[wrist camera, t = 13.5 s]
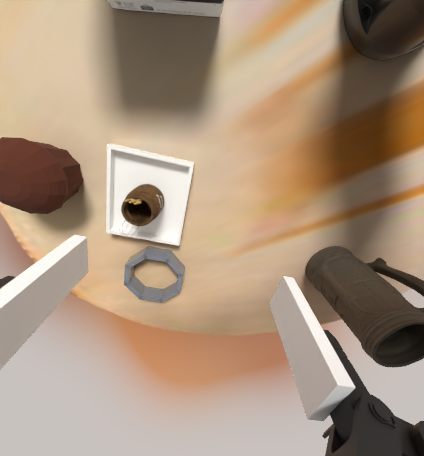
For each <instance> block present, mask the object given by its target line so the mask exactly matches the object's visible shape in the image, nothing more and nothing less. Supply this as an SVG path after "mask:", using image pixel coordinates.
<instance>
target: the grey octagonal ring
mask: <svg viewBox="0 0 424 456" xmlns="http://www.w3.org/2000/svg"><path fill="white" fill-rule="evenodd" d="M144 259H151V260H157V261H163V262H167V263H168V265H169V266H170V267H171V268H172V269H173V270H174V271H175V273H176V274H177V275H178V280H177V282H176V283H174V284H172V285H170V286H169V287H167V288H165V289H157V288H151V287H145V286H144V285H143V284H142V283H141V282H140V281H139V280H138V279H137V278H136V277H135V276H134V265H136V264H137V263H139V262H141V261H143V260H144ZM184 269H185V266H184V265H183V264H182V263H181V262H180V260H179V259H178V258H177V257H176V256H175V254H174V253H173V252H172V251H170V250H165V249H159V248H153V247H146V248H145V249H143V250H142V251H140V252H138V253H137V254H135V255H133V256H132V257H130V259H129V260H128V262H127V263H126V265H125V277H124V285H125V286H126V287H127V288H128V289H129V290H131V291H132V292H133V293H134V294H135V295H136V296H137V297H138V298H139V299H142V300H149V301H156V302H163V301H165V300H167V299H169V298H171V297H173V296H175V295H177V294H179V293H180V289H181V284H182V279H183V275H184Z"/></svg>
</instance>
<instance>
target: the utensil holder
mask: <svg viewBox="0 0 424 456" xmlns="http://www.w3.org/2000/svg"><path fill="white" fill-rule="evenodd" d="M163 206H164V196H163V194H162V192H161V191H160V190H159V189H158V188H157V187H156V186H154V185H151V184H143V185H140V186H138V187H136V188H135V189H133V190H132V191H131V192H130V193H129V194H128V195H127V196H126V198H125V200H124V201H123V203H122V206H121V212H122V215H123V217H124V218H125V220H126V221H127V222H129V223H130V224H132V225H135V226H145V225H147V224H149V223H150V222H152V221H153V220H154V219H156V218H157V216H158V215H159V214H160V212H161V210H162V209H163ZM124 222H125V221H124ZM124 222H123V223H124ZM122 225H123V224H122ZM122 225H121V226H122ZM135 226H134V227H135ZM132 227H133V226H132ZM125 228H126V227H125ZM125 228H124V229H125ZM138 228H139V227H138ZM126 229H127V228H126ZM131 229H132V228H131ZM136 230H138V229H136ZM119 231H120V229H119ZM130 231H131V230H130ZM122 232H123V230H122ZM125 232H126V231H125ZM123 233H124V232H123ZM123 233H121V234H123ZM128 233H130V232H128ZM135 233H136V231H135ZM124 235H126V234H124ZM132 235H134V234H132ZM126 237H128V235H127V236H126Z"/></svg>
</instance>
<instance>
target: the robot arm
mask: <svg viewBox="0 0 424 456" xmlns="http://www.w3.org/2000/svg"><path fill="white" fill-rule="evenodd" d="M344 21H345V26H346V30H347V33H348V36H349V38H350V40H351V42H352V44H353V45H354V46H355V48H356V49H357V50H358V51H359V52H360V53H362V54H363V55H365V56H367V57H369V58H372V59H376V60H387V59H392V58H395V57H398V56H401V55H403V54H405V53H408V52H410V51H412V50H415V49H417V48H418V47H420V46H422V45H423V44H424V0H344ZM87 273H88V249H87V237H84V236H79V235H73V236H72V237H71V238H69V239H68V240H66V241H65V242H64V243H62V244H61V245H60V246H58V247H57V248H55V249H54V250H53V251H51V252H50V253H49V254H47V255H46V256H44V257H43V258H42V259H40V260H39V261H38V262H36V263H35V264H34V265H32V266H31V267H29V268H28V269H27V270H26V271H24V272H23V273H21V274H20V275H19V276H17V277H13V276H7V277H5V278H3V279H0V369H1V368H2V367H3V366H4V365H5V364H6V362H7V361H8V360H9V359H10V358H11V357H12V356H13V355H14V354H15V353H16V352H17V350H18V349H19V348H20V347H21V346H22V345H23V344H24V343H25V341H26V340H27V339H28V338H29V337H30V336H31V335H32V334H33V333H34V332H35V330H36V329H37V328H38V327H39V326H40V325H41V324H42V323H43V322H44V320H45V319H46V318H47V317H48V316H49V315H50V314H51V313H52V312H53V310H54V309H55V308H56V307H57V306H58V305H59V304H60V303H61V302H62V300H63V299H64V298H65V297H66V296H67V295H68V294H69V293H70V292H71V290H72V289H73V288H74V287H75V286H76V285H77V284H78V283H79V282H80V280H81V279H82V278H83V277H84V276H85V275H86V274H87ZM269 305H270V308H271V311H272V314H273V317H274V320H275V323H276V326H277V329H278V332H279V335H280V338H281V341H282V344H283V347H284V350H285V353H286V356H287V359H288V362H289V365H290V368H291V371H292V374H293V377H294V380H295V383H296V386H297V389H298V392H299V395H300V398H301V401H302V404H303V407H304V410H305V413H306V416H307V418H308V419H310V420H318V421H324V420H325V419H326V418H327V417H328V416H329V415H330V416H331V418H332V420H333V425H331V427H329V428H328V429H327V430H326V431H325V432H324V434H323V437H324V438H326V437H327V436H328V435H329V439H328V444H327V450H326V455H325V456H424V421H420V422H419V423H417V424H416V425H415V426H414V425H412V424H410V423H408V422H406V421H404V420H402V419H400V418H398V417H396V416H394V415H393V413H392V412H391V410H390V409H389V408H388V407H387V406H386V405H385V404H384V403H383V402H382V401H381V400H380V399H378V398H376V397H375V396H373V395H370V394H369V392H368V391H367V389H366V387H365V386H364V384H363V382H362V381H361V379H360V378H359V376H358V374H357V372H356V371H355V369H354V368H353V366H352V364H351V363H350V361H349V360H348V359H347V356H346V354H345V353H344V352H343V351H342V350H343V349H342V348H341V346H340V344H339V343H338V341H337V340H336V338H335V337H334V336H333V335H332V334H331V333H330V332H329V331H328V330H323V329H322V327H321V326H320V324H319V322H318V320H317V319H316V317H315V315H314V313H313V311H312V310H311V308H310V306H309V304H308V303H307V301H306V299H305V297H304V296H303V294H302V292H301V290H300V288H299V287H298V285H297V283H296V281H295V280H294V278H291V277H286V276H283V277H282V279H281V281H280V284H279V286H278V288H277V290H276V292H275V294H274V296H273V298H272V300H271V302H270V304H269Z"/></svg>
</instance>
